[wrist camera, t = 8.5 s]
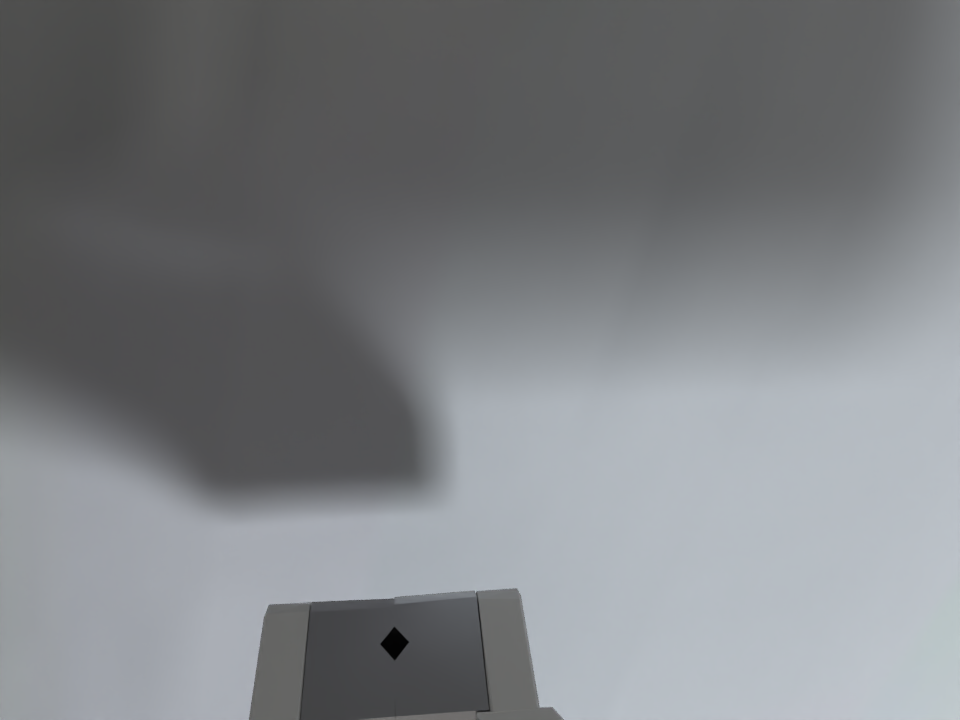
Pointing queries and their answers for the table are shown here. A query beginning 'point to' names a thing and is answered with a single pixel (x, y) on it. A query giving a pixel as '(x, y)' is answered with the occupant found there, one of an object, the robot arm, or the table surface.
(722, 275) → the table surface
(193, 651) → the table surface
